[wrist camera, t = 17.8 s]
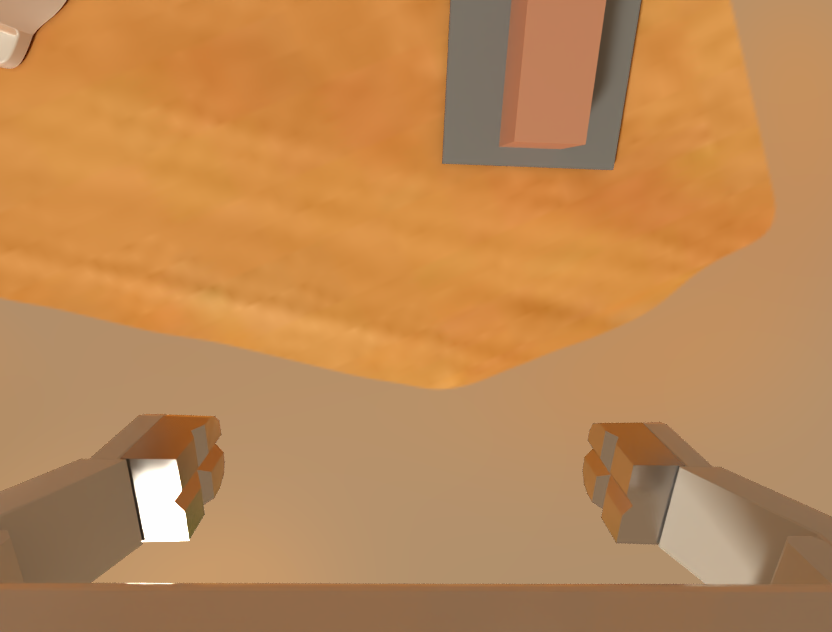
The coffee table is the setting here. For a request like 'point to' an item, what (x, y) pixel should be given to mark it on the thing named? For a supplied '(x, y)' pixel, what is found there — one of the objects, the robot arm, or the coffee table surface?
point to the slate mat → (484, 86)
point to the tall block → (550, 72)
